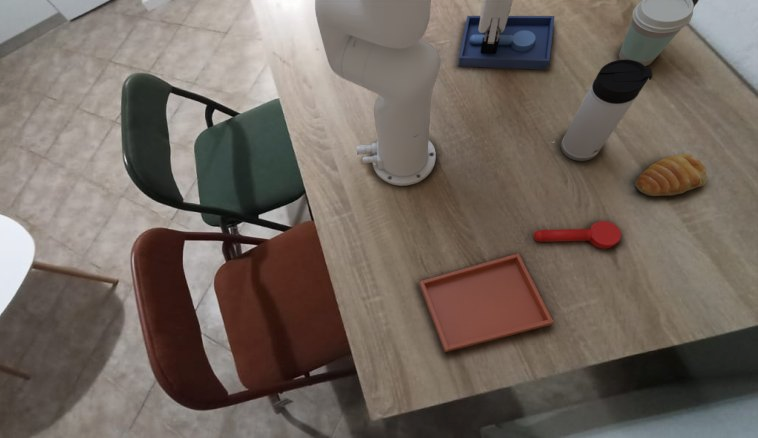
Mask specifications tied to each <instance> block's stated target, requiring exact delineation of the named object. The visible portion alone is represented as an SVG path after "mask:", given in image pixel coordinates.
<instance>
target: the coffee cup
mask: <svg viewBox="0 0 758 438" xmlns="http://www.w3.org/2000/svg"><path fill="white" fill-rule="evenodd" d="M694 7H695V4H694V1H693V0H640V1H639V2H638V4H637V5H636V6H635V8H634V9H633V11H632V19H631V21H630V24H629V27H628V30H627V32H626V35H625V37H624V40H623V43H622V45H621V47H620V50H619V54H618V57H619V60H634V61H637V62H640V63H641V64H643V65H644V66H645V67H646V66H650V65H651V64H652V63H653V62H654V60H655V59H657V57H658V56H659V55H660V54H661V53H662V52H663V50H664V49H666V47H667V46H668V45H669V44H670V42H672V40H673V39H674V38H675V37H676V36H677V35H678V34H679V32H680V31H681V30H682V29H683V28H685V27H686V26H687V25H689V23H690V22H691V20H692V18H693V16H694Z"/></svg>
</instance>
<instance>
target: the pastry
mask: <svg viewBox="0 0 758 438" xmlns="http://www.w3.org/2000/svg"><path fill="white" fill-rule="evenodd" d="M707 178H708V176H707V168H706V166H705V165H704V163H703V162H702V161H701V159H699V158H698V157H695V156H694V155H691V154H689V153H679V154H677V155H670V156H666V157H664V158H662V159H660V160H657V161H655V162H654V163H652V164H651V165H650V166H648V167H647V168H646V170H644V171H643V172H642V173H641V174H639V176H638V178H637V179H636V182H635V187H636V188H637V190H638V191H639V192H640V193H642V194H644V195H646V196H652V197H658V196H659V197H661V196H675V195H680V194H684V193H686V192H687V191H692V190H694V189H696V188H700V187H703V186H705V185H706V183H707Z"/></svg>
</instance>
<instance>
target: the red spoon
mask: <svg viewBox="0 0 758 438" xmlns="http://www.w3.org/2000/svg"><path fill="white" fill-rule="evenodd" d="M532 237H533V239H534V240H535V241H536V242H587V241H589V243H590V244H591V245H593V246H594V247H596V248H599V249H610V248H612V247H614V246H616V244H618V243H619V242H620V240H621V238H622V232H621V230H620V228H619V227H618V226H617V225H616V224H615V223H612V221H611V222H610V221H607V220H601V221H596V222H595V223H593V224H592V225H591V226H590V227H589V228H568V229H567V228H564V229H563V228H562V229H538V230H535V231H534V232H533V236H532Z"/></svg>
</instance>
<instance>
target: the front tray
mask: <svg viewBox="0 0 758 438" xmlns="http://www.w3.org/2000/svg"><path fill="white" fill-rule="evenodd" d="M419 287H420V291H421V293H422V295H423V298H424V300H425V303H426V306H427V310H428V311H429V314H430V317H431V319H432V322H433V325H434V328H435V330H436V333H437V335H438V338H439V342H440V343H441V346H442V348H443V352H444V353H448V352H451V351H455V350H459V349H463V348H467V347H471V346H474V345H478V344H483V343H486V342H490V341H494V340H497V339H502V338H505V337H510V336H513V335H517V334H521V333H524V332H528V331H532V330H536V329H540V328H544V327H548V326H550V325H552V324H554V320H553V318H552V316H551V314H550V311H549V310H548V308H547V306H546V304H545V302H544V300H543V298H542V296H541V294H540V292H539V289H538V288H537V286H536V285H535V282H534V280H533V279H532V276H531V274H530V272H529V271H528V268H527V266H526V264H525V262H524V259H522V257H521V254H520V253H519V252H518V253H514V254H511V255H507V256H503V257H500V258H497V259H492V260H490V261H486V262H482V263H479V264H475V265H472V266H469V267H464V268H461V269H458V270H455V271H450V272H446V273H444V274H443V273H442V274H440V275H437V276H433V277H429V278H426V279H421V280H420V281H419Z"/></svg>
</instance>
